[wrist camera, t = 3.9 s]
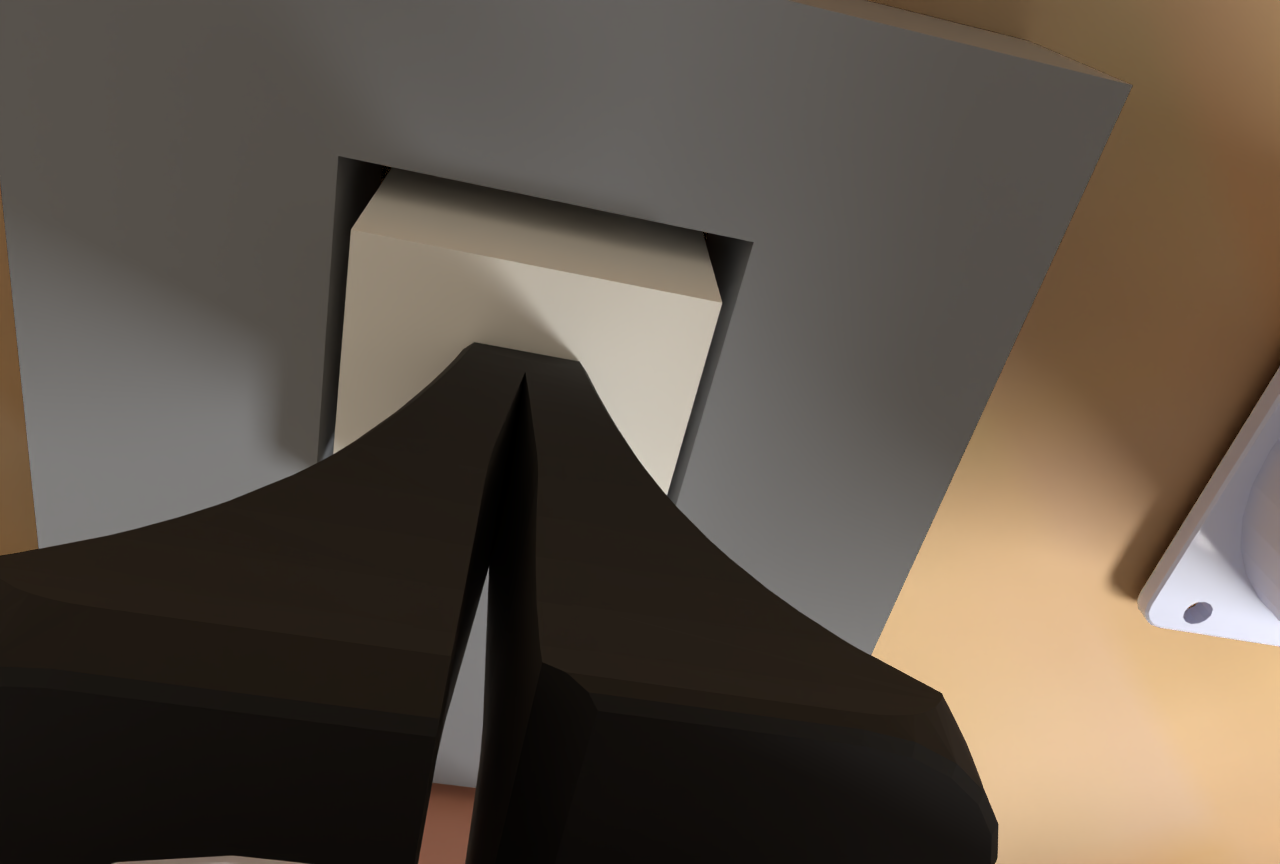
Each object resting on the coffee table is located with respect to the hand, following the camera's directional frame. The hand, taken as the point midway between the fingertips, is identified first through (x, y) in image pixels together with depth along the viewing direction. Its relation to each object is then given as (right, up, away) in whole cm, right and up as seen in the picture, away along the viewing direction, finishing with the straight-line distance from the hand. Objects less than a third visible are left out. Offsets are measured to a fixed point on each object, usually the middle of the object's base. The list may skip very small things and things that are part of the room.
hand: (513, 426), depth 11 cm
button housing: (-1, -2, +6) cm, 6 cm away
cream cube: (0, +2, +3) cm, 4 cm away
